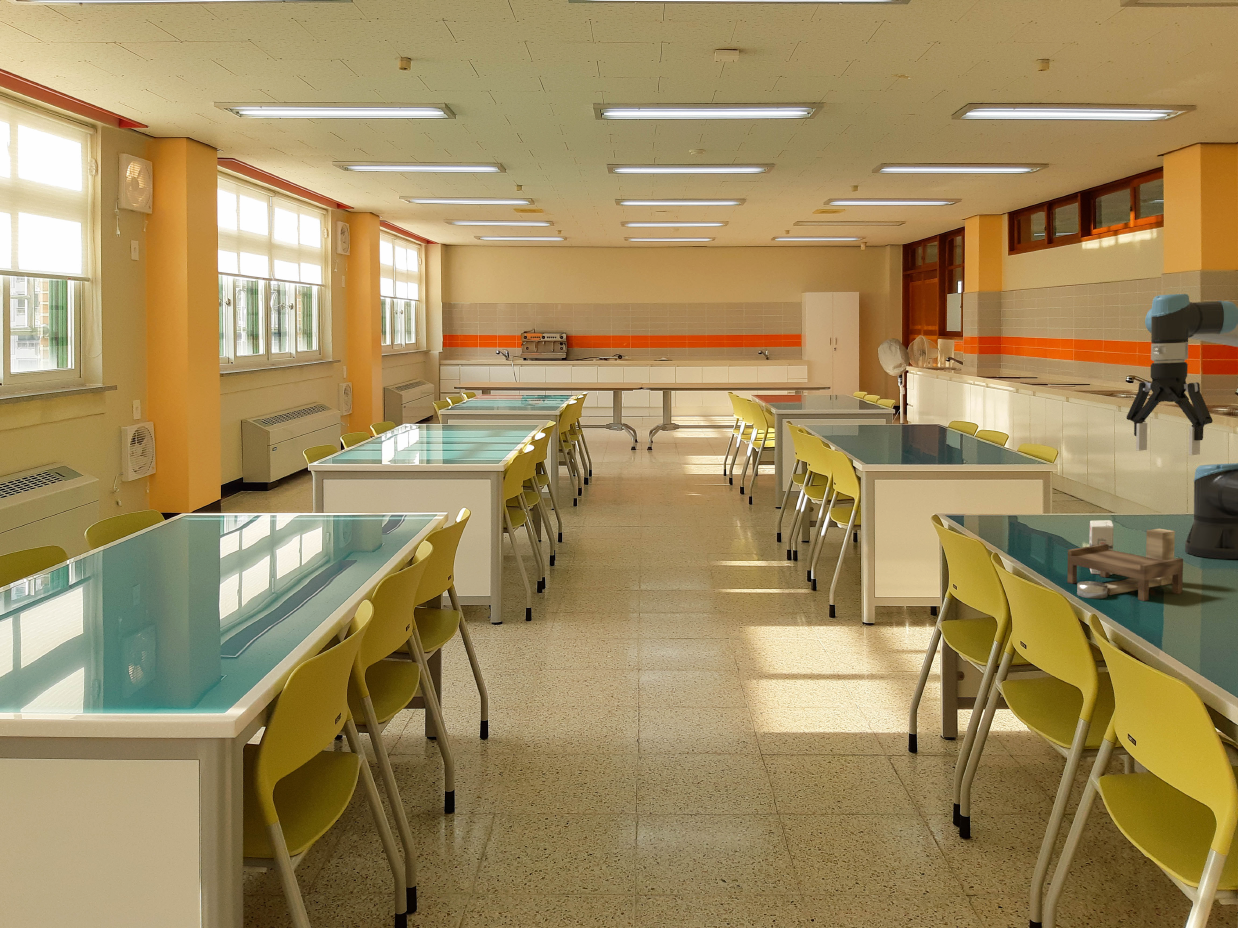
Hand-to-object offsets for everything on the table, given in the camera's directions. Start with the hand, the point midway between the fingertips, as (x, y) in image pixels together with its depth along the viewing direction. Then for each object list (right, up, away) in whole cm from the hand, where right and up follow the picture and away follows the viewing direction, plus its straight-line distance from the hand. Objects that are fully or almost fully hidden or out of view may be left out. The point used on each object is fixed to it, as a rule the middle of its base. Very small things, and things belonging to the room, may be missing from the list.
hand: (1167, 452), depth 232 cm
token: (-24, -32, -14) cm, 42 cm away
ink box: (-12, -29, +7) cm, 32 cm away
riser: (-15, -31, -9) cm, 35 cm away
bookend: (-12, -31, -9) cm, 34 cm away
